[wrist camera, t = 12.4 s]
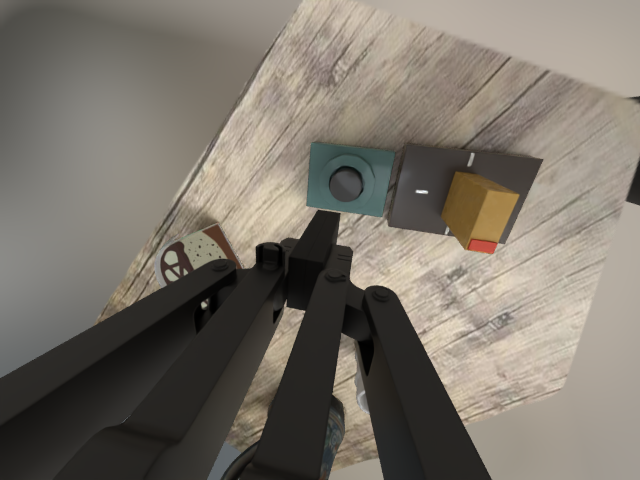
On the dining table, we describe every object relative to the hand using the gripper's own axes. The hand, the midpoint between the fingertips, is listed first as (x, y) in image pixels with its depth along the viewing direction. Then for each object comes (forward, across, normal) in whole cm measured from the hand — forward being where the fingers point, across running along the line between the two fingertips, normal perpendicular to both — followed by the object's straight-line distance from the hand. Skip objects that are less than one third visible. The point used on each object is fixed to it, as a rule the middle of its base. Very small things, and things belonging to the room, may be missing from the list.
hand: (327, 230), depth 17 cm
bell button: (+15, 0, 0) cm, 15 cm away
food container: (+19, -20, -15) cm, 31 cm away
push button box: (+18, 0, 0) cm, 18 cm away
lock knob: (+16, +13, 0) cm, 21 cm away
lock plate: (+18, +13, 0) cm, 23 cm away
